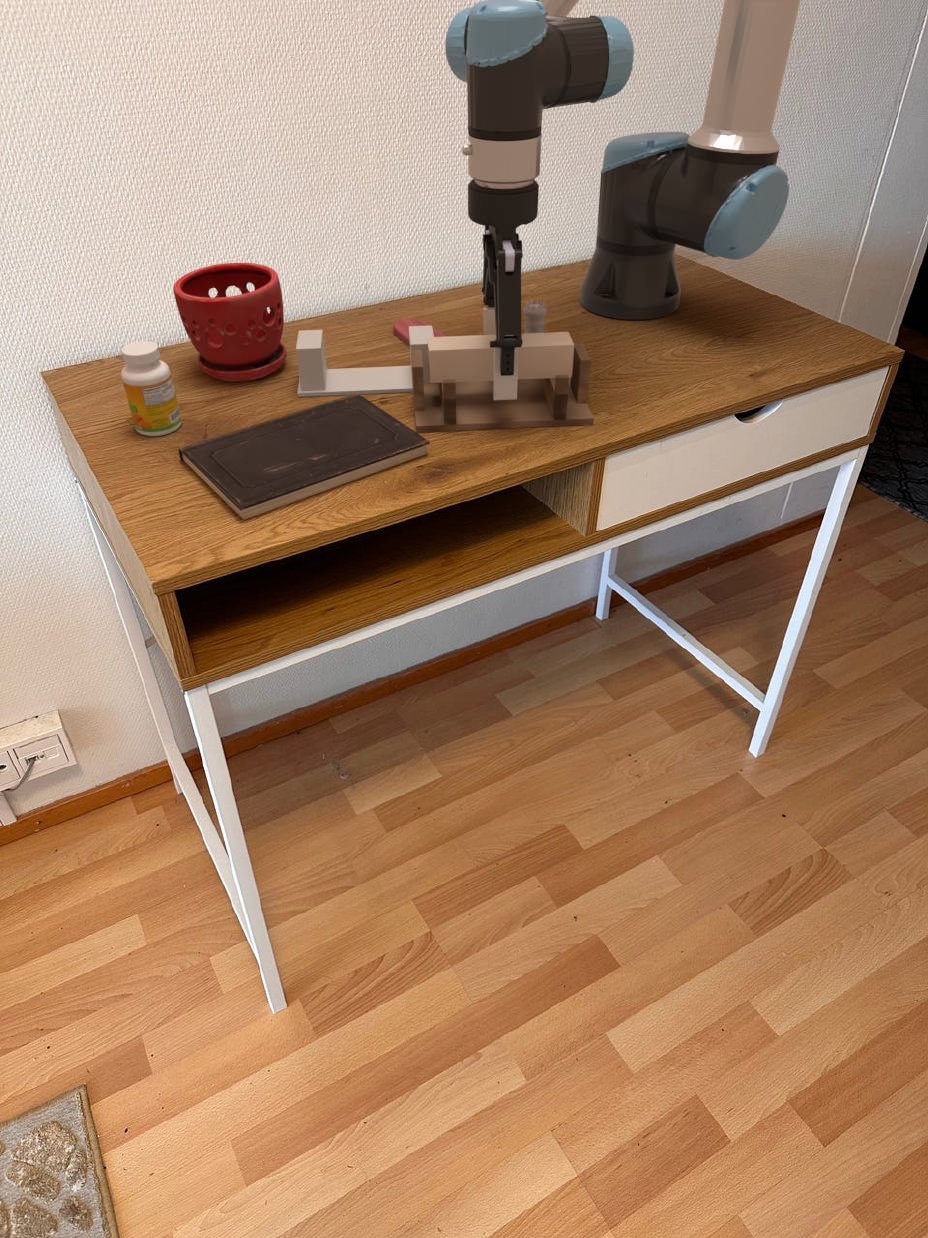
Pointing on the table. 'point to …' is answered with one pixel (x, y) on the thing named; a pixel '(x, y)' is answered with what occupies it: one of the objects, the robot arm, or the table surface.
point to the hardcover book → (302, 454)
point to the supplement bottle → (149, 390)
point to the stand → (355, 369)
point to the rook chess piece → (535, 317)
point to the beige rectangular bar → (476, 358)
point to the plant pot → (233, 320)
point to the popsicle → (403, 329)
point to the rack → (502, 401)
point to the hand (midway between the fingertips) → (499, 378)
